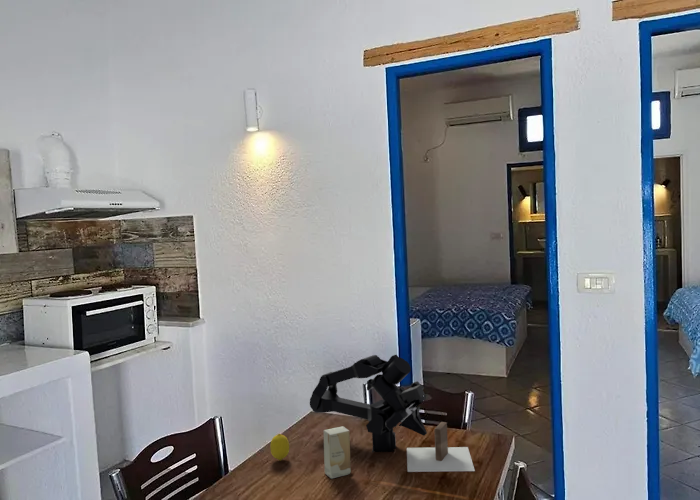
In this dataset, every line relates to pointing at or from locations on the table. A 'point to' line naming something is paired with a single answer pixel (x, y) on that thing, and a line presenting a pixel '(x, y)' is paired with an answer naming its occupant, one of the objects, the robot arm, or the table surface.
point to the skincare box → (337, 452)
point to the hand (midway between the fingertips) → (425, 434)
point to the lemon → (279, 447)
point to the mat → (427, 461)
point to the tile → (441, 441)
